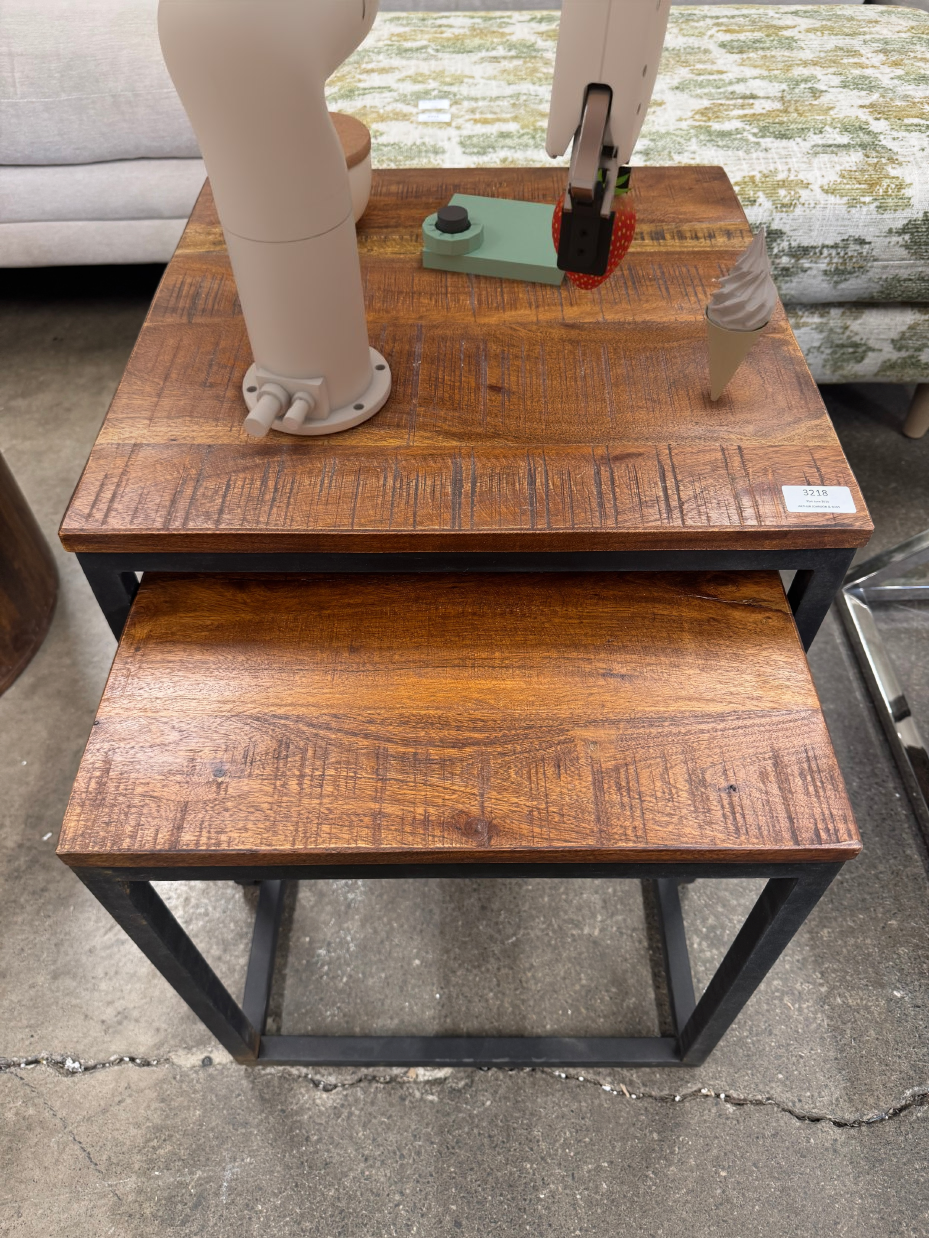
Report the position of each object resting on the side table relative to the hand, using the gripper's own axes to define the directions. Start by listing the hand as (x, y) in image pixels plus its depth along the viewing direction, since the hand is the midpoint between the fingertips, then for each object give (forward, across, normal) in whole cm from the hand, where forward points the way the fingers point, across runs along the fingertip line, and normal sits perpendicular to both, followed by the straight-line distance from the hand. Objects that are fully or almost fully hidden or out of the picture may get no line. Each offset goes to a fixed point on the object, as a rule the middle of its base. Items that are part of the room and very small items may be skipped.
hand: (590, 245), depth 56 cm
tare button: (+13, -24, -17) cm, 32 cm away
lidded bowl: (+17, -26, -32) cm, 45 cm away
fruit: (+3, 0, 0) cm, 3 cm away
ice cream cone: (+16, -8, +11) cm, 21 cm away
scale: (+16, -28, -12) cm, 34 cm away
